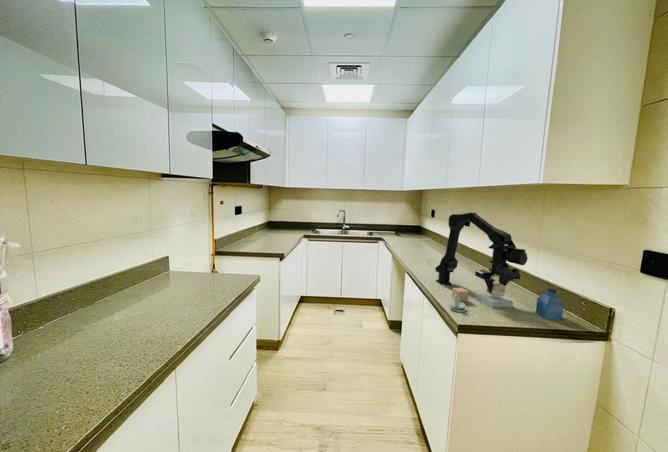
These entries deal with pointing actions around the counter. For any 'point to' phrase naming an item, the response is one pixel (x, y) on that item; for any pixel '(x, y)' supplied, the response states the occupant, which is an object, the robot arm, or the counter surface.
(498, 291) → the birch cube
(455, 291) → the terracotta cube
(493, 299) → the blue-grey slab
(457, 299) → the pacifier
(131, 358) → the counter surface
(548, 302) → the perfume bottle
